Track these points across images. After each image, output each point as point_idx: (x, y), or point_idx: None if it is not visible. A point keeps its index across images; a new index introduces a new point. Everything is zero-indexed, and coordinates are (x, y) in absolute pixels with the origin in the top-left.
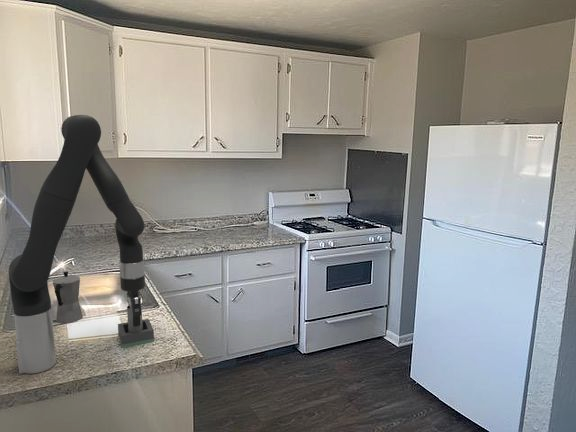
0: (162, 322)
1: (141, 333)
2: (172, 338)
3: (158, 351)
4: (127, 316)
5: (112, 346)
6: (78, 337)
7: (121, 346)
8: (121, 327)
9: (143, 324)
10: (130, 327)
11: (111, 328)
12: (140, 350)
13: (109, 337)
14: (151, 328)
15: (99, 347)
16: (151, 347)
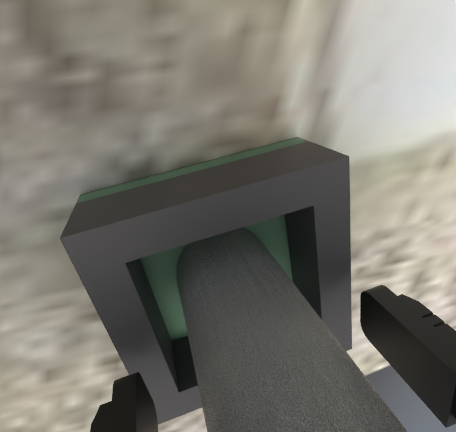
0: (366, 337)
1: (126, 362)
2: (173, 418)
3: (14, 403)
4: (273, 346)
5: (115, 120)
6: None
7: (100, 190)
8: (263, 203)
9: None
10: (199, 299)
11: (418, 71)
12: (31, 315)
13: (279, 74)
14: (185, 407)
15: (108, 3)
16: (73, 360)
